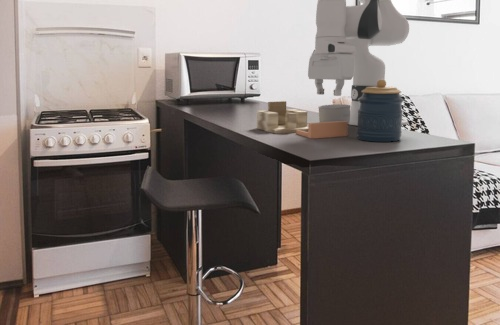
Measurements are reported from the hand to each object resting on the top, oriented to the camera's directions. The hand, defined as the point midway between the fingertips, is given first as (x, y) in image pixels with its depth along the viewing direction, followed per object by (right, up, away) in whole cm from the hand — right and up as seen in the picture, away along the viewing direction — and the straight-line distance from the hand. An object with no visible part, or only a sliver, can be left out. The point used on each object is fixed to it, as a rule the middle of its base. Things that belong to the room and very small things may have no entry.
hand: (328, 95), depth 147 cm
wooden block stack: (-12, -9, +18) cm, 24 cm away
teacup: (+6, -8, +23) cm, 26 cm away
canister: (+15, -14, -1) cm, 20 cm away
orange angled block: (-1, -12, +7) cm, 14 cm away
